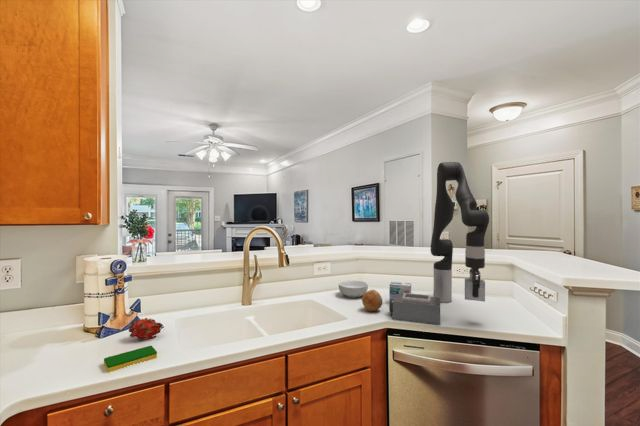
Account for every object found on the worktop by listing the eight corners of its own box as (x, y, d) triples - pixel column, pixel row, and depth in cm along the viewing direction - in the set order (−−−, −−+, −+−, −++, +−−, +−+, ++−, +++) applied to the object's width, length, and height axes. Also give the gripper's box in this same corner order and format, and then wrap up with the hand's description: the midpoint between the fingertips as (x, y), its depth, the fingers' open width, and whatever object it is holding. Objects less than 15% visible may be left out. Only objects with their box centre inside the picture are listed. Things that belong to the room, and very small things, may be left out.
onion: (362, 306, 156) (362, 287, 156) (382, 308, 154) (382, 288, 154) (361, 313, 146) (361, 292, 146) (382, 314, 144) (382, 293, 144)
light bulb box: (389, 304, 160) (389, 283, 160) (391, 300, 166) (391, 281, 166) (410, 306, 156) (410, 285, 156) (411, 303, 162) (411, 282, 162)
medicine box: (484, 299, 133) (484, 279, 133) (485, 302, 129) (485, 281, 129) (464, 297, 137) (464, 277, 136) (464, 299, 132) (464, 279, 132)
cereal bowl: (336, 292, 183) (336, 280, 183) (363, 291, 185) (363, 279, 185) (341, 300, 167) (341, 287, 166) (371, 299, 168) (371, 286, 168)
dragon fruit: (126, 344, 116) (161, 344, 120) (124, 338, 110) (160, 338, 114) (132, 321, 121) (165, 322, 125) (130, 314, 115) (165, 315, 119)
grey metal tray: (392, 309, 152) (392, 290, 152) (439, 314, 144) (439, 294, 144) (388, 318, 139) (388, 297, 138) (440, 324, 131) (440, 302, 131)
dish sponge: (103, 365, 98) (103, 357, 98) (151, 351, 108) (151, 344, 108) (107, 374, 93) (107, 366, 93) (157, 359, 102) (157, 351, 102)
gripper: (463, 253, 140) (463, 290, 141) (467, 258, 127) (466, 299, 127) (482, 254, 138) (481, 291, 138) (487, 259, 124) (487, 301, 125)
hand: (474, 295), depth 133 cm, fingers closed on medicine box, 4 cm apart
